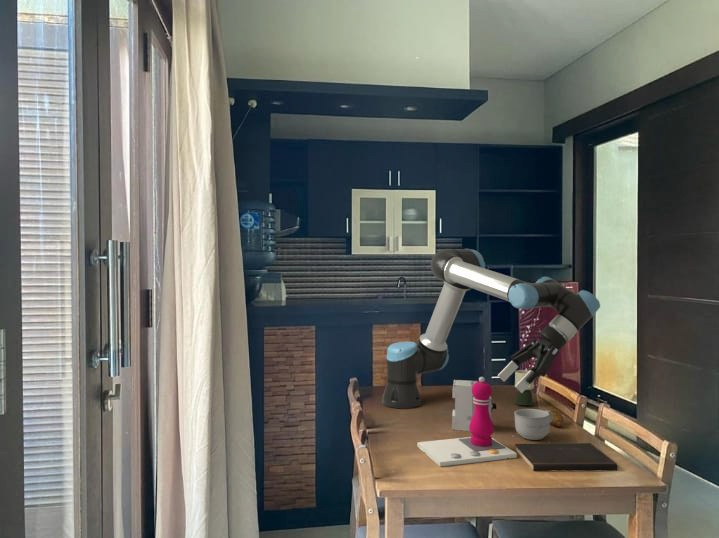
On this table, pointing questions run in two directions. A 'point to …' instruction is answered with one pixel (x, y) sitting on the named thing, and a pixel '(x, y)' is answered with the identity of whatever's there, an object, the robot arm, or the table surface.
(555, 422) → the croissant
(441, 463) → the board
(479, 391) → the pepper mill
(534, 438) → the teacup
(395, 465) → the table surface
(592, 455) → the hardcover book
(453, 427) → the circuit breaker
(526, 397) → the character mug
